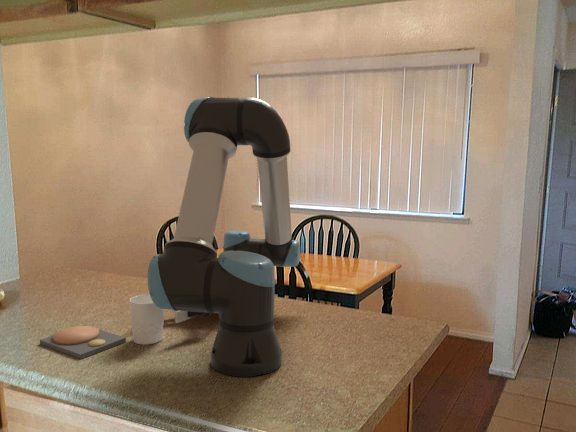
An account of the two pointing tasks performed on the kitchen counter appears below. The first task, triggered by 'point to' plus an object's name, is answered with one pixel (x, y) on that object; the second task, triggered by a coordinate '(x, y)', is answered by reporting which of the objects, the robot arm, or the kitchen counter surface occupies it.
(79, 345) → the board
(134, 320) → the white cup
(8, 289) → the kitchen counter surface
